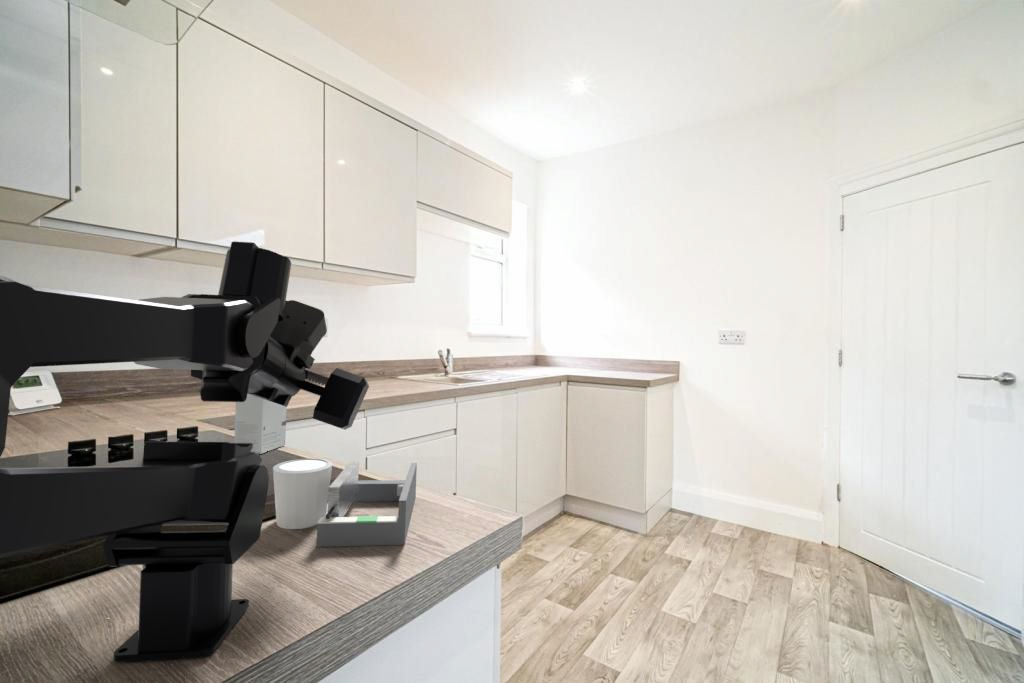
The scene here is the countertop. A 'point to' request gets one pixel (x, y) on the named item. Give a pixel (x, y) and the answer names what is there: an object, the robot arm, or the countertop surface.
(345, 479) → the flat metal bar
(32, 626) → the countertop surface
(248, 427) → the skincare box
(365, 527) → the frame
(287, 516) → the white tapered cup
